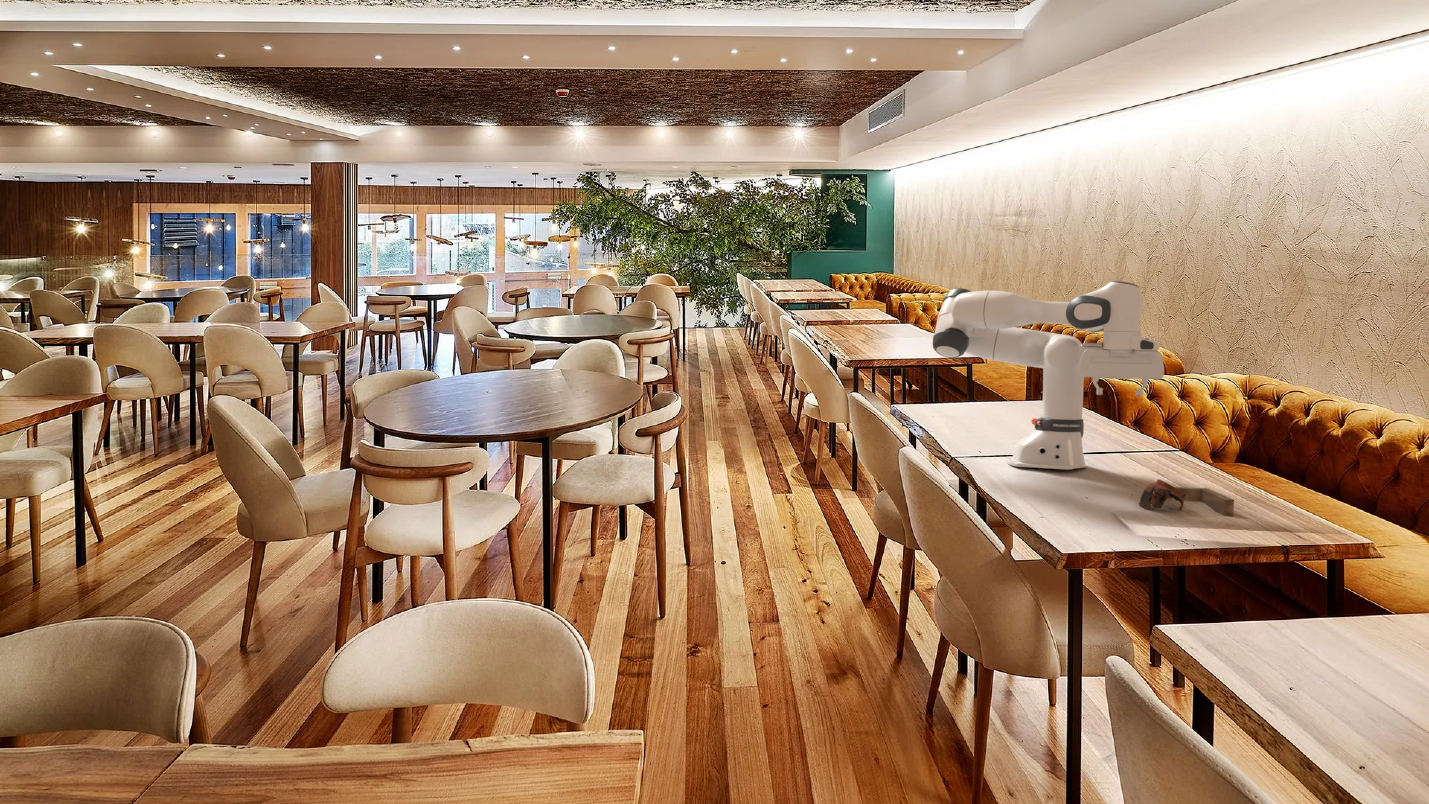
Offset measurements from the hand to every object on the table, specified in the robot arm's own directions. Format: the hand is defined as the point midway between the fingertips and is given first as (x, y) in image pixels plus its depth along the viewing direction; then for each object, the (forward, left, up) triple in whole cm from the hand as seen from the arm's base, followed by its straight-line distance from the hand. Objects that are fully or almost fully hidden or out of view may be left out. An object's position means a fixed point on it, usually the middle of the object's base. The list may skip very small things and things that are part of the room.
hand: (1119, 395), depth 214 cm
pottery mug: (+6, -10, -29) cm, 32 cm away
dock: (+22, -6, -28) cm, 36 cm away
